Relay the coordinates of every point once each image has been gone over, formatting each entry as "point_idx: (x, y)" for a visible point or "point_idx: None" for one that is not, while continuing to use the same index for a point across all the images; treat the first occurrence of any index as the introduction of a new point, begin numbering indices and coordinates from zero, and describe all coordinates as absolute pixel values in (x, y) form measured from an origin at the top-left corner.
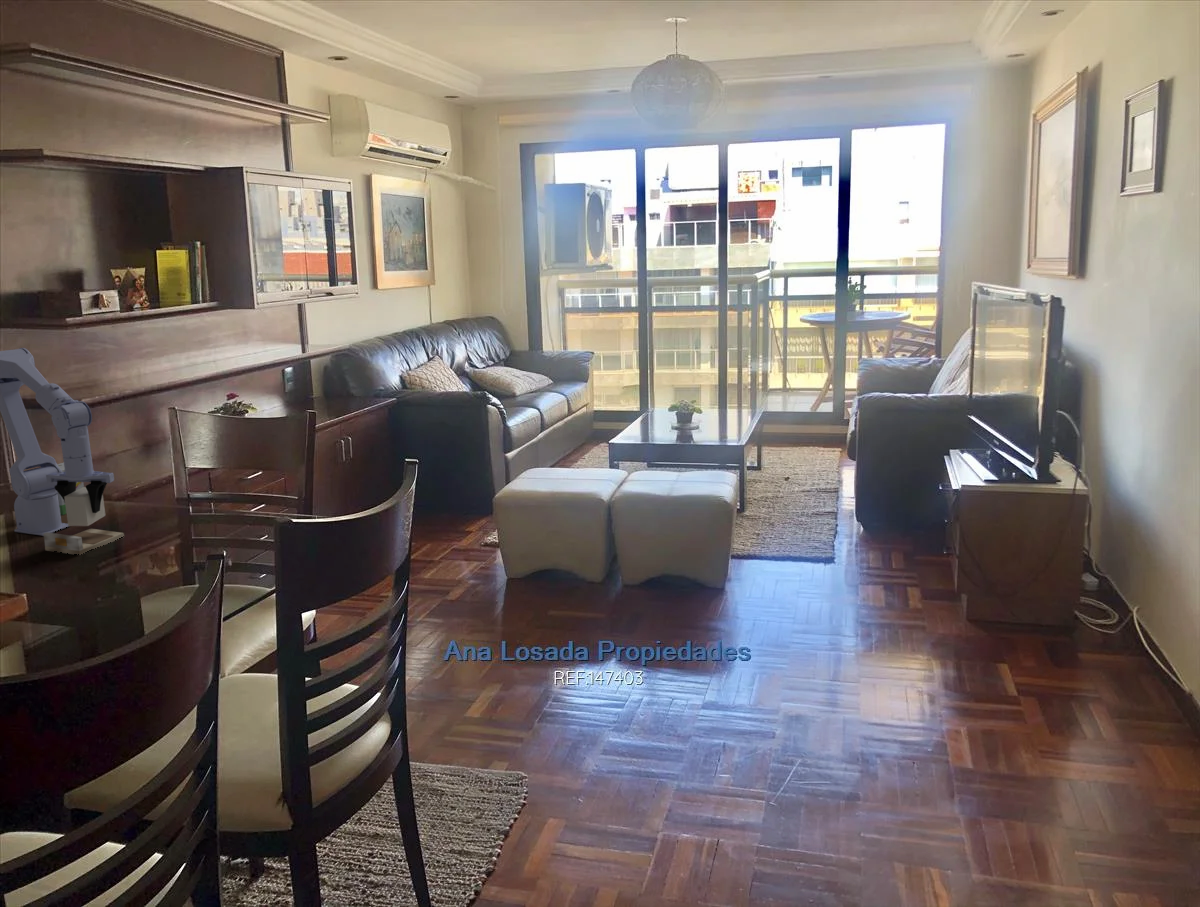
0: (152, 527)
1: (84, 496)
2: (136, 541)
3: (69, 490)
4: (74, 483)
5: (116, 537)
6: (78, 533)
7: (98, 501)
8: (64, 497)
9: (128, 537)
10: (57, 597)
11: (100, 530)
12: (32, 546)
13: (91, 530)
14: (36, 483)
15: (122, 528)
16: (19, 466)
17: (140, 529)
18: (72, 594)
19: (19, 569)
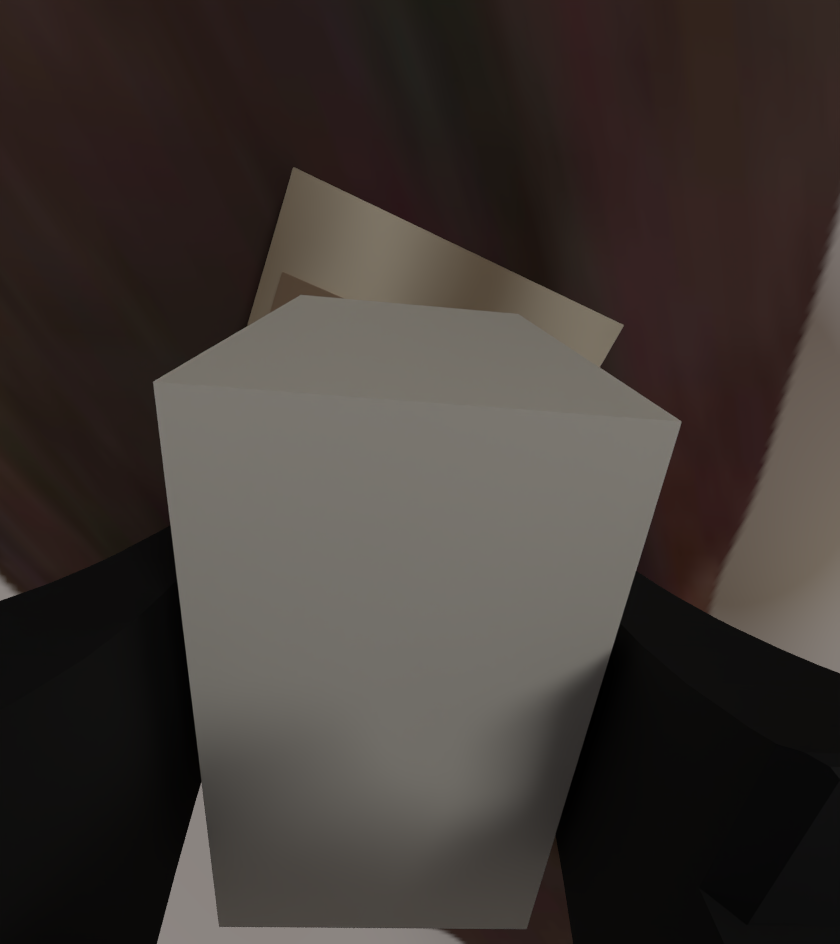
0: (809, 48)
1: (526, 922)
2: (712, 420)
3: (146, 835)
4: (44, 770)
5: None
6: (259, 311)
7: None
8: (224, 912)
9: (643, 329)
10: (527, 938)
11: (410, 239)
12: (47, 472)
13: (329, 230)
14: None
15: (539, 55)
16: None
17: (707, 109)
18: (568, 924)
19: None
